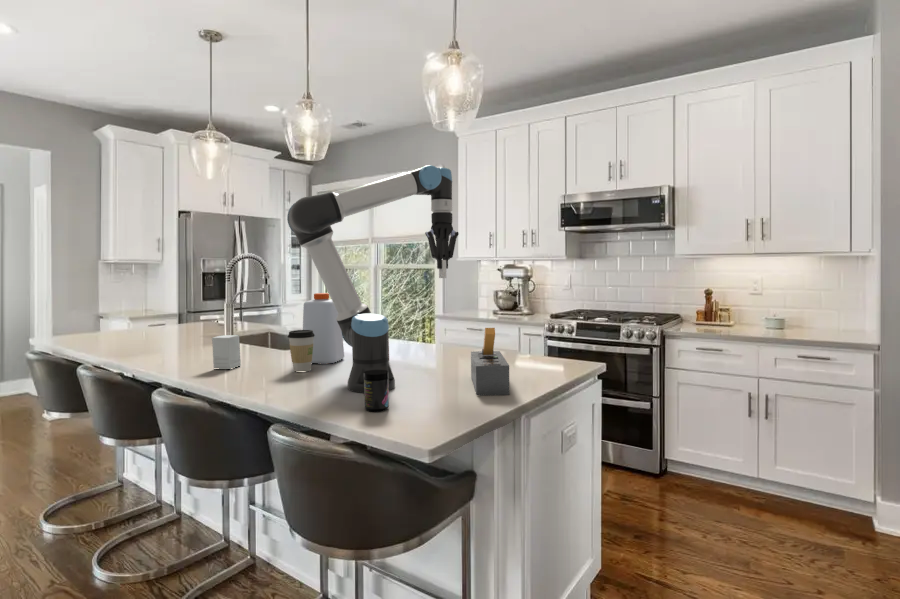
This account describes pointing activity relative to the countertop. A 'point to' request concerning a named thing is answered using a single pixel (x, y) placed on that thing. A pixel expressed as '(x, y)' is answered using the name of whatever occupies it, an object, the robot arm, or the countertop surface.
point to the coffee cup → (301, 349)
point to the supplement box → (226, 351)
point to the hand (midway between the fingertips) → (442, 278)
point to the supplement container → (376, 390)
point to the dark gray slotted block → (489, 373)
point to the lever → (488, 341)
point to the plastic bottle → (323, 329)
